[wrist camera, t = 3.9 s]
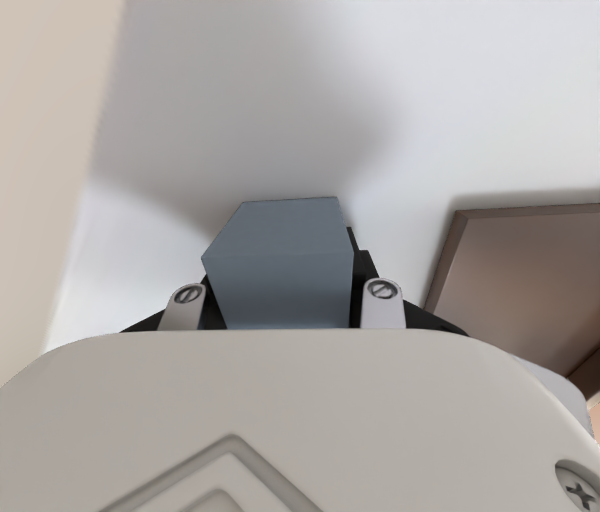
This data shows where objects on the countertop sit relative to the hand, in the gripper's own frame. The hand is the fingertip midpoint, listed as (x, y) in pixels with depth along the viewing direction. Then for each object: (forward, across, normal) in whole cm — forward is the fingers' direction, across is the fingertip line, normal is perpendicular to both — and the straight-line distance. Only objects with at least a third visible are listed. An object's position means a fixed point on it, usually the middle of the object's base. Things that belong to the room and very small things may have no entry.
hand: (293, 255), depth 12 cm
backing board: (0, -14, +7) cm, 16 cm away
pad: (0, 0, 0) cm, 0 cm away
